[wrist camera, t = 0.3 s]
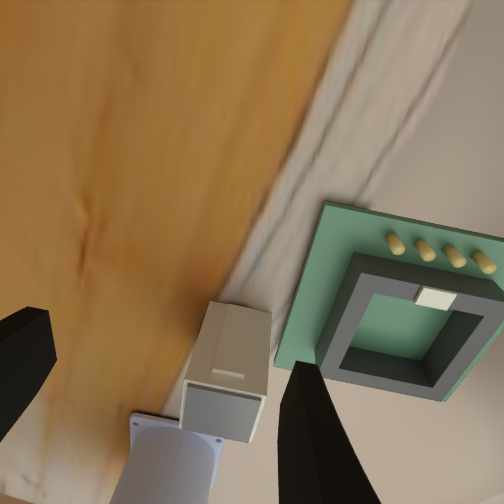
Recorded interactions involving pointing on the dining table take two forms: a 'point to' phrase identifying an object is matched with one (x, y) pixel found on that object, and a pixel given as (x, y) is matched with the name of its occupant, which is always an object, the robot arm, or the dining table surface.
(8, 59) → the dining table surface
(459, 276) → the header socket
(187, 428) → the plug
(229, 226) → the dining table surface
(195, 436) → the robot arm
